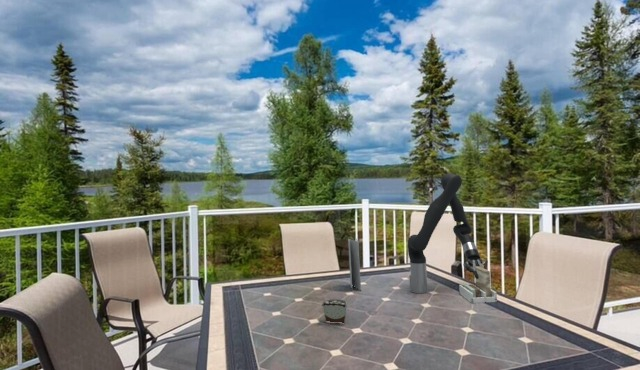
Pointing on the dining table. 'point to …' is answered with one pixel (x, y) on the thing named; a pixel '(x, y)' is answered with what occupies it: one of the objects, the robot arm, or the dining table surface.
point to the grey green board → (483, 280)
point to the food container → (335, 310)
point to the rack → (481, 299)
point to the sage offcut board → (471, 290)
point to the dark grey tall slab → (354, 263)
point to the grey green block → (476, 291)
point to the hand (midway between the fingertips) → (480, 277)
